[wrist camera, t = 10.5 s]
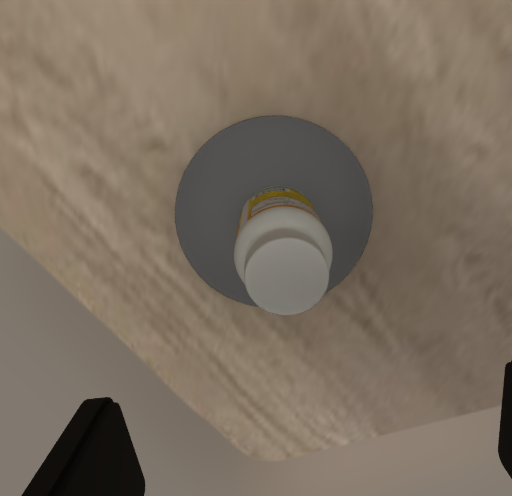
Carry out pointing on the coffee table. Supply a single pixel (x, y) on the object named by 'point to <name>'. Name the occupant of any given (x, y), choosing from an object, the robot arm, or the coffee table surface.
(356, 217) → the plate
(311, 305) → the supplement bottle
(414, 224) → the coffee table surface
